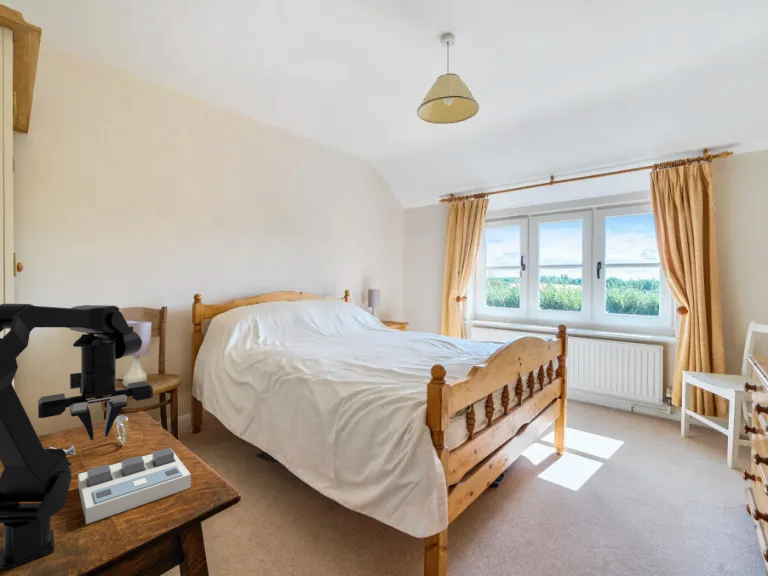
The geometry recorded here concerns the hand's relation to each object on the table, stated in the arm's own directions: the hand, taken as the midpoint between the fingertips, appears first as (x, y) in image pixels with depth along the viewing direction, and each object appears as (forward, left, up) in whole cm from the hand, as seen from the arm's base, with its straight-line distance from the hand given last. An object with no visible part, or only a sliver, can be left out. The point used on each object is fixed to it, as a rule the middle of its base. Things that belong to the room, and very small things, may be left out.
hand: (98, 437), depth 78 cm
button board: (-2, -6, -12) cm, 14 cm away
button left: (0, 0, -10) cm, 10 cm away
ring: (+24, -7, -12) cm, 27 cm away
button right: (0, -12, -10) cm, 15 cm away
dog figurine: (+24, +5, -12) cm, 27 cm away
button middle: (0, -6, -10) cm, 11 cm away
